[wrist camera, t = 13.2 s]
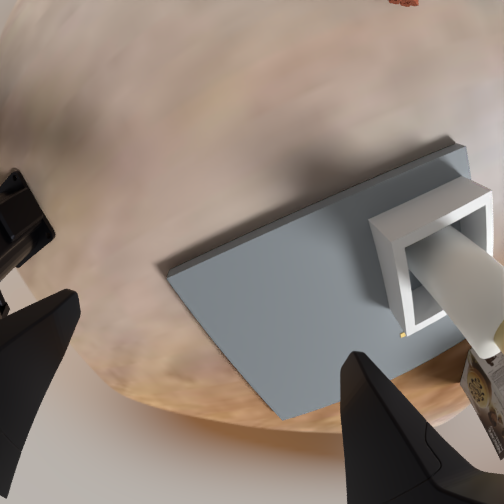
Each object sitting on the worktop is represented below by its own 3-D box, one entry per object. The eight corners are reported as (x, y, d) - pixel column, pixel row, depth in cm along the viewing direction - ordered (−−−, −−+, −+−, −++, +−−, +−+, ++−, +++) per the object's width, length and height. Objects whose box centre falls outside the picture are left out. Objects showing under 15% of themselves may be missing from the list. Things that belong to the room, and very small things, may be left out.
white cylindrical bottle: (417, 283, 21) (497, 391, 11) (392, 246, 20) (491, 364, 9) (456, 245, 20) (550, 336, 9) (437, 204, 18) (555, 294, 8)
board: (281, 412, 31) (285, 445, 26) (169, 269, 21) (155, 309, 17) (465, 329, 27) (484, 355, 23) (456, 143, 17) (497, 157, 13)
